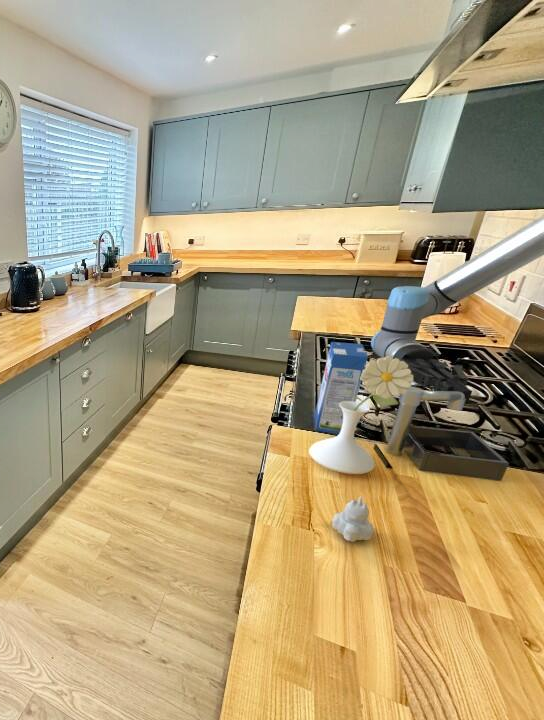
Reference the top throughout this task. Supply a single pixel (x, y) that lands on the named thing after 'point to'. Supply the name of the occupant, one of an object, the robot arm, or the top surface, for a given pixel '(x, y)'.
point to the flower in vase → (343, 449)
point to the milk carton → (339, 384)
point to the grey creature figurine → (354, 521)
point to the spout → (433, 397)
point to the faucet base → (398, 433)
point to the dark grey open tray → (479, 466)
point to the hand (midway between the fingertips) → (466, 397)
